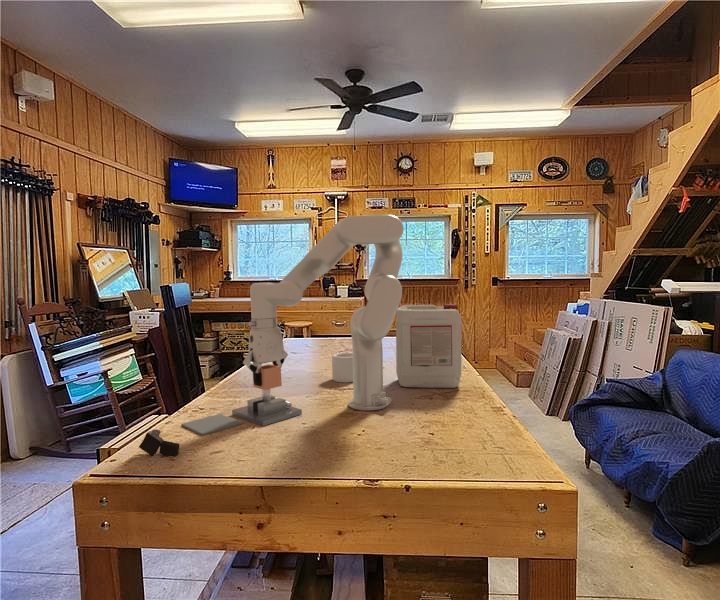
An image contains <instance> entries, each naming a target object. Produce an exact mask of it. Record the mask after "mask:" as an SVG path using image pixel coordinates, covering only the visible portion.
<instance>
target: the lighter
mask: <svg viewBox="0 0 720 600" xmlns="http://www.w3.org/2000/svg"><path fill="white" fill-rule="evenodd" d="M160 435H161V431H160V430H159V429H152V430H149V431H148V432H146V433H145V436H144V437H143V440H142V441H141V443H140V445H139V446H138V448H139V449H141V450H142V451H144V452H145V453H146V454H148V455H149V456H151V457H153V456H155V455H156V454H157V452H159V454H161V455H162V456H164V457H168V456H174V457H176V456H178V455H179V450H180V443H177V442H173V441H168V440H164V439H163V437H161V436H160ZM154 454H155V455H154Z"/></svg>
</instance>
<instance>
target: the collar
mask: <svg viewBox="0 0 720 600" xmlns="http://www.w3.org/2000/svg"><path fill="white" fill-rule="evenodd" d="M260 373H261V377H262V386H257V385H254V381H252V385H253V388H256V389H260V390H262V389H263V390H268V389H270V390H271V389H275V388H278V387H282V367H281V366H277V365H273V364H270V363H265V364H262V365H261V368H260Z"/></svg>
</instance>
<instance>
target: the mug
mask: <svg viewBox="0 0 720 600" xmlns="http://www.w3.org/2000/svg"><path fill="white" fill-rule="evenodd" d="M331 369H332V371H331V372H332V374H331V375H332V377H331V378H332V380H333V381H334V382H337V383H353V352H337V353H334V354H332V356H331Z"/></svg>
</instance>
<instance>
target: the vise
mask: <svg viewBox="0 0 720 600" xmlns="http://www.w3.org/2000/svg"><path fill="white" fill-rule="evenodd" d="M261 391H262V392H261V393H262V394H261V396H260V397H255V398H251V399H247V405H246V406H242V407H237V408H235V409H231V413H232V414H231V415H232V416H235V417H237V418H240V419H243V420H246V421H247V422H250V423H253V424H256V425H258V424H259V425H258V426H261V427H266V426H268V424H269V425H272V424H275V423H278V422H282V421H285V420H289V419H291V418H295V417H298V416H302V414H303V411H302V409H301V408H298V407H295V406H292V403H291V402H289V401H287V399H284V398H282V397H278V398H276V396H274V395H271V389H268V390H263V389H261ZM271 423H272V424H271ZM265 425H266V426H265Z"/></svg>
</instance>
